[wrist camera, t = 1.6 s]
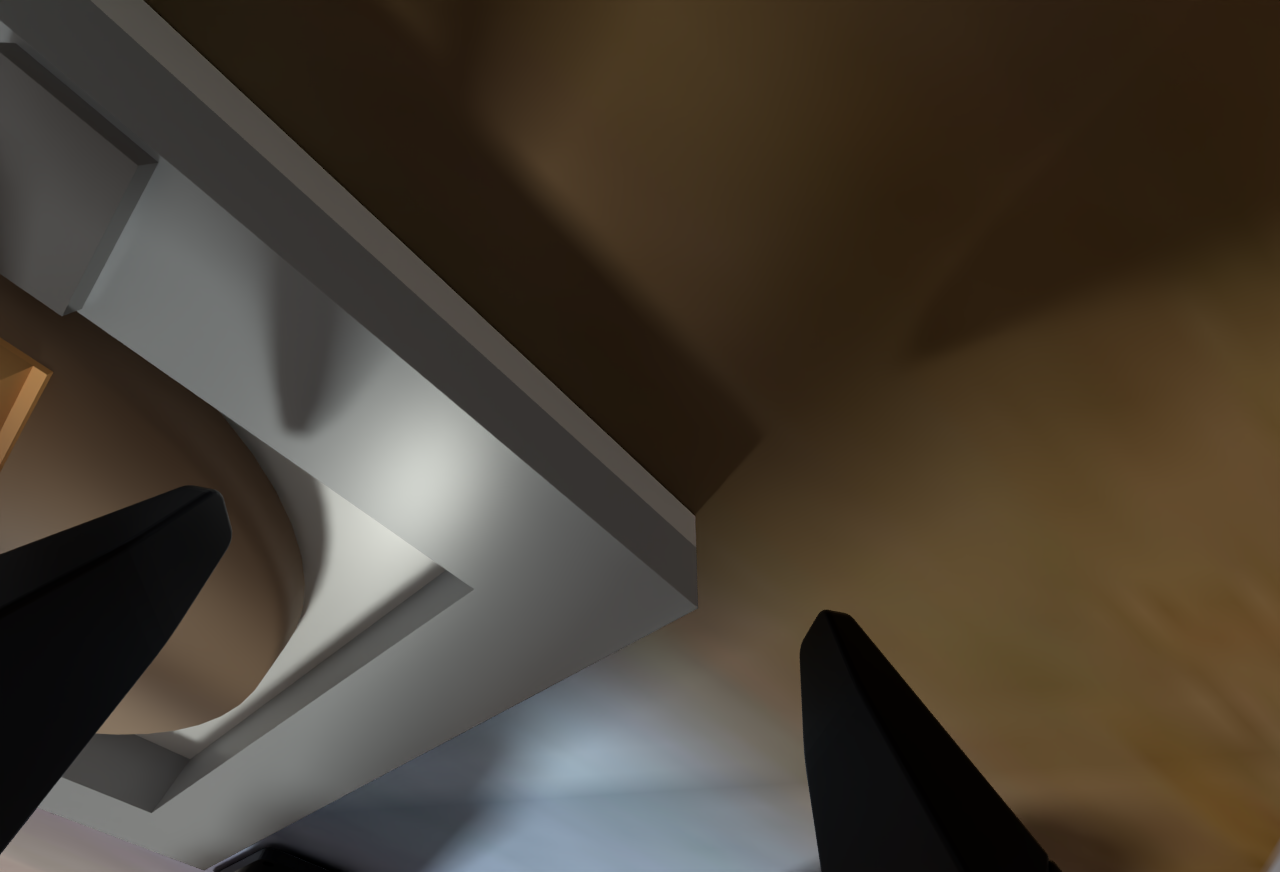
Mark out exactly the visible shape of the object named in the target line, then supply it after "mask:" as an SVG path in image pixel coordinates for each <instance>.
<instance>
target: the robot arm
mask: <svg viewBox="0 0 1280 872" xmlns="http://www.w3.org/2000/svg"><path fill="white" fill-rule="evenodd" d="M231 539H232V527H231V524H230V520H229V516H228V512H227V508H226V505H225V501H224V498H223V495H222V494H221V493H220V492H219V491H217V490H215V489H210V488H205V487H200V486H194V485H186V486H182V487H179V488H176V489H173V490H171V491H168V492H165V493H163V494H160V495H157V496H155V497H152V498H149V499H147V500H144V501H141V502H138V503H136V504H133V505H130V506H128V507H125V508H122V509H120V510H117V511H114V512H112V513H109V514H106V515H104V516H101V517H98V518H96V519H93V520H90V521H88V522H85V523H82V524H80V525H77V526H74V527H72V528H69V529H66V530H63V531H61V532H58V533H55V534H53V535H50V536H47V537H45V538H42V539H39V540H37V541H34V542H31V543H29V544H26V545H23V546H21V547H18V548H15V549H13V550H10V551H7V552H5V553H2V554H0V854H1V853H2V852H3V850H4V849H5V848H6V847H7V845H8V844H9V843H10V842H11V840H12V839H13V838H14V837H15V835H16V834H17V833H18V831H19V830H20V829H21V828H22V826H23V825H24V824H25V823H26V821H27V820H28V819H29V817H30V816H31V815H32V814H33V812H34V811H35V810H36V809H37V807H38V806H39V805H40V804H41V802H42V801H43V800H44V798H45V797H46V796H47V795H48V793H49V792H50V791H51V790H52V788H53V787H54V786H55V785H56V783H57V782H58V781H59V779H60V778H61V777H62V776H63V774H64V773H65V772H66V771H67V769H68V768H69V767H70V765H71V764H72V763H73V762H74V760H75V759H76V758H77V757H78V755H79V754H80V753H81V752H82V750H83V749H84V748H85V746H86V745H87V744H88V743H89V741H90V740H91V739H92V738H93V736H94V735H95V734H96V732H97V731H98V730H99V729H100V727H101V726H102V725H103V724H104V722H105V721H106V720H107V719H108V717H109V716H110V715H111V713H112V712H113V711H114V710H115V708H116V707H117V706H118V705H119V703H120V702H121V701H122V700H123V698H124V697H125V696H126V694H127V693H128V692H129V691H130V689H131V688H132V687H133V686H134V684H135V683H136V682H137V680H138V679H139V678H140V677H141V675H142V674H143V673H144V672H145V670H146V669H147V668H148V667H149V665H150V664H151V663H152V661H153V660H154V659H155V658H156V656H157V655H158V654H159V652H160V651H161V650H162V648H163V647H164V646H165V644H166V643H167V642H168V640H169V639H170V637H171V636H172V634H173V633H174V631H175V630H176V629H177V627H178V626H179V624H180V622H181V621H182V619H183V618H184V616H185V615H186V613H187V611H188V610H189V608H190V607H191V605H192V604H193V602H194V601H195V599H196V597H197V596H198V594H199V593H200V591H201V590H202V588H203V586H204V585H205V583H206V582H207V580H208V579H209V577H210V576H211V574H212V572H213V571H214V569H215V568H216V566H217V565H218V563H219V561H220V560H221V558H222V557H223V555H224V554H225V552H226V551H227V549H228V547H229V545H230V542H231ZM800 675H801V697H802V720H803V741H804V756H805V764H806V772H807V779H808V786H809V792H810V799H811V806H812V812H813V819H814V826H815V832H816V839H817V846H818V852H819V859H820V866H821V872H1062V871H1061V870H1060V868H1059V867H1058V866H1057V865H1056V864H1055V863H1054V862H1053V861H1049V858H1048V855H1047V853H1046V852H1045V851H1044V849H1043V848H1042V847H1041V846H1040V844H1039V843H1038V842H1037V841H1036V840H1035V838H1034V837H1033V836H1032V835H1031V834H1030V832H1029V831H1028V830H1027V829H1026V827H1025V826H1024V825H1023V824H1022V823H1021V821H1020V820H1019V819H1018V818H1017V817H1016V815H1015V814H1014V813H1013V812H1012V810H1011V809H1010V808H1009V807H1008V806H1007V804H1006V803H1005V802H1004V801H1003V800H1002V798H1001V797H1000V796H999V795H998V793H997V792H996V791H995V790H994V789H993V787H992V786H991V785H990V784H989V783H988V781H987V780H986V779H985V778H984V776H983V775H982V774H981V773H980V772H979V770H978V769H977V768H976V767H975V766H974V764H973V763H972V762H971V761H970V759H969V758H968V757H967V756H966V755H965V753H964V752H963V751H962V750H961V748H960V747H959V746H958V745H957V744H956V742H955V741H954V740H953V739H952V738H951V736H950V735H949V734H948V733H947V731H946V730H945V729H944V728H943V727H942V725H941V724H940V723H939V722H938V721H937V719H936V718H935V717H934V716H933V714H932V713H931V712H930V711H929V710H928V708H927V707H926V706H925V705H924V704H923V702H922V701H921V700H920V699H919V697H918V696H917V695H916V694H915V693H914V691H913V690H912V689H911V688H910V687H909V685H908V684H907V683H906V682H905V680H904V679H903V678H902V677H901V676H900V674H899V673H898V672H897V671H896V670H895V668H894V667H893V666H892V665H891V663H890V662H889V661H888V660H887V659H886V657H885V656H884V655H883V654H882V653H881V651H880V650H879V649H878V648H877V646H876V645H875V644H874V643H873V642H872V640H871V639H870V638H869V637H868V636H867V634H866V633H865V632H864V631H863V629H862V628H861V627H860V626H859V625H858V623H857V622H856V621H855V620H854V619H853V618H852V617H851V616H850V615H848V614H846V613H842V612H836V611H831V610H823V611H821V612H820V613H819V614H818V616H817V617H816V619H815V621H814V622H813V624H812V626H811V627H810V629H809V631H808V633H807V634H806V636H805V638H804V639H803V642H802V644H801V648H800ZM220 872H331V871H328V870H326V869H324V868H321V867H319V866H316V865H314V864H311V863H309V862H307V861H304V860H302V859H299V858H297V857H294V856H292V855H290V854H287V853H285V852H282V851H280V850H277V849H273V848H265V849H262V850H260V851H258V852H256V853H254V854H253V855H251V856H249V857H247V858H245V859H243V860H241V861H239V862H237V863H235V864H233V865H231V866H229V867H227V868H225V869H223V870H221V871H220Z"/></svg>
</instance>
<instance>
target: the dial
mask: <svg viewBox="0 0 1280 872" xmlns="http://www.w3.org/2000/svg"><path fill="white" fill-rule="evenodd" d="M186 485H194V486H200V487H205V488H210V489H215V490H217V491H219V492H220V493H221V494H222V495H223V498H224V501H225V505H226V508H227V512H228V516H229V520H230V524H231V527H232V539H231V542H230V545H229V547H228V549H227V551H226V552H225V554H224V555H223V557H222V558H221V560H220V561H219V563H218V565H217V566H216V568H215V569H214V571H213V572H212V574H211V576H210V577H209V579H208V580H207V582H206V583H205V585H204V586H203V588H202V590H201V591H200V593H199V594H198V596H197V597H196V599H195V601H194V602H193V604H192V605H191V607H190V608H189V610H188V611H187V613H186V615H185V616H184V618H183V619H182V621H181V622H180V624H179V626H178V627H177V629H176V630H175V631H174V633H173V634H172V636H171V637H170V639H169V640H168V642H167V643H166V644H165V646H164V647H163V648H162V650H161V651H160V652H159V654H158V655H157V656H156V658H155V659H154V660H153V661H152V663H151V664H150V665H149V667H148V668H147V669H146V670H145V672H144V673H143V674H142V675H141V677H140V678H139V679H138V680H137V682H136V683H135V684H134V686H133V687H132V688H131V689H130V691H129V692H128V693H127V694H126V696H125V697H124V698H123V700H122V701H121V702H120V703H119V705H118V706H117V707H116V708H115V710H114V711H113V712H112V713H111V715H110V716H109V717H108V719H107V720H106V721H105V722H104V724H103V725H102V726H101V727H100V729H99V730H98V731H97V732H96V733H98V734H115V735H121V734H151V733H159V732H168V731H175V730H180V729H184V728H188V727H192V726H197V725H200V724H203V723H205V722H208V721H210V720H213V719H216V718H218V717H221V716H222V715H224V714H226V713H227V712H229V711H231V710H232V709H234V708H235V707H237V706H239V705H240V704H241V703H242V702H243V701H244V700H245V699H246V698H247V697H248V696H249V695H250V694H251V693H252V692H254V691H255V689H256V688H257V686H258V685H259V684H260V682H261V681H262V679H263V678H264V676H265V675H266V674H267V672H268V671H269V669H270V668H271V666H272V665H273V664H274V662H275V661H276V659H277V658H278V656H279V655H280V654H281V652H282V651H283V649H284V648H285V646H286V645H287V643H288V642H289V640H290V638H291V637H292V635H293V633H294V632H295V630H296V628H297V625H298V622H299V619H300V616H301V613H302V610H303V602H304V590H305V580H304V572H303V564H302V556H301V553H300V549H299V546H298V543H297V540H296V536H295V533H294V530H293V527H292V524H291V522H290V520H289V518H288V515H287V513H286V511H285V509H284V507H283V505H282V503H281V501H280V498H279V496H278V494H277V492H276V490H275V489H274V487H273V485H272V484H271V482H270V481H269V479H268V478H267V476H266V474H265V473H264V471H263V470H262V468H261V466H260V465H259V463H258V462H257V460H256V458H255V457H254V455H253V454H252V452H251V451H250V450H249V449H248V447H247V446H246V445H245V443H244V442H243V441H242V440H241V438H240V437H239V436H238V435H237V433H236V432H235V431H234V429H233V428H232V427H231V426H230V424H229V423H228V422H227V420H226V419H225V418H224V417H223V415H222V414H221V413H220V412H219V411H218V410H217V409H216V408H214V407H213V406H211V405H210V404H208V403H207V402H206V401H204V400H203V399H201V398H200V397H198V396H197V395H196V394H194V393H193V392H191V391H190V390H188V389H187V388H186V387H184V386H183V385H181V384H180V383H178V382H177V381H176V380H174V379H173V378H171V377H170V376H168V375H167V374H166V373H164V372H163V371H161V370H160V369H158V368H157V367H156V366H154V365H153V364H151V363H150V362H148V361H147V360H146V359H144V358H143V357H141V356H140V355H138V354H137V353H136V352H134V351H133V350H131V349H130V348H128V347H127V346H126V345H124V344H123V343H121V342H120V341H118V340H117V339H116V338H114V337H113V336H111V335H110V334H108V333H107V332H106V331H104V330H103V329H101V328H100V327H98V326H97V325H96V324H94V323H93V322H91V321H90V320H88V319H87V318H86V317H84V316H83V315H81V314H80V313H78V312H77V311H75V312H72V313H70V314H67V315H64V316H61V315H59V314H58V313H56V312H55V311H53V310H52V309H50V308H49V307H47V306H46V305H45V304H43V303H42V302H40V301H39V300H37V299H36V298H34V297H33V296H32V295H30V294H29V293H27V292H26V291H24V290H23V289H21V288H20V287H18V286H17V285H16V284H14V283H13V282H11V281H10V280H8V279H7V278H5V277H4V276H3V275H1V274H0V554H2V553H5V552H7V551H10V550H13V549H15V548H18V547H21V546H23V545H26V544H29V543H31V542H34V541H37V540H39V539H42V538H45V537H47V536H50V535H53V534H55V533H58V532H61V531H63V530H66V529H69V528H72V527H74V526H77V525H80V524H82V523H85V522H88V521H90V520H93V519H96V518H98V517H101V516H104V515H106V514H109V513H112V512H114V511H117V510H120V509H122V508H125V507H128V506H130V505H133V504H136V503H138V502H141V501H144V500H147V499H149V498H152V497H155V496H157V495H160V494H163V493H165V492H168V491H171V490H173V489H176V488H179V487H182V486H186Z"/></svg>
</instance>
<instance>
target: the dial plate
mask: <svg viewBox="0 0 1280 872" xmlns="http://www.w3.org/2000/svg"><path fill="white" fill-rule="evenodd" d="M0 274H1V275H3V276H4V277H5V278H7V279H8V280H10V281H11V282H13V283H14V284H16V285H17V286H18V287H20V288H21V289H23V290H24V291H26V292H27V293H29V294H30V295H32V296H33V297H34V298H36V299H37V300H39V301H40V302H42V303H43V304H45V305H46V306H47V307H49V308H50V309H52V310H53V311H55V312H56V313H58V314H59V315H61V316H64V315H67V314H70V313H72V312H75V311H77V312H78V313H80V314H81V315H83V316H84V317H86V318H87V319H88V320H90V321H91V322H93V323H94V324H96V325H97V326H98V327H100V328H101V329H103V330H104V331H106V332H107V333H108V334H110V335H111V336H113V337H114V338H116V339H117V340H118V341H120V342H121V343H123V344H124V345H126V346H127V347H128V348H130V349H131V350H133V351H134V352H136V353H137V354H138V355H140V356H141V357H143V358H144V359H146V360H147V361H148V362H150V363H151V364H153V365H154V366H156V367H157V368H158V369H160V370H161V371H163V372H164V373H166V374H167V375H168V376H170V377H171V378H173V379H174V380H176V381H177V382H178V383H180V384H181V385H183V386H184V387H186V388H187V389H188V390H190V391H191V392H193V393H194V394H196V395H197V396H198V397H200V398H201V399H203V400H204V401H206V402H207V403H208V404H210V405H211V406H213V407H214V408H216V409H217V410H218V411H219V412H220V413H221V414H222V415H223V417H224V418H225V419H226V420H227V422H228V423H229V424H230V426H231V427H232V428H233V429H234V431H235V432H236V433H237V435H238V436H239V437H240V438H241V440H242V441H243V442H244V443H245V445H246V446H247V447H248V449H249V450H250V451H251V452H252V454H253V455H254V457H255V458H256V460H257V462H258V463H259V465H260V466H261V468H262V470H263V471H264V473H265V474H266V476H267V478H268V479H269V481H270V482H271V484H272V485H273V487H274V489H275V490H276V492H277V494H278V496H279V498H280V501H281V503H282V505H283V507H284V509H285V511H286V513H287V515H288V518H289V520H290V522H291V524H292V527H293V530H294V533H295V536H296V540H297V543H298V546H299V549H300V553H301V556H302V564H303V572H304V580H305V590H304V602H303V610H302V613H301V616H300V619H299V622H298V625H297V628H296V630H295V632H294V633H293V635H292V637H291V638H290V640H289V642H288V643H287V645H286V646H285V648H284V649H283V651H282V652H281V654H280V655H279V656H278V658H277V659H276V661H275V662H274V664H273V665H272V666H271V668H270V669H269V671H268V672H267V674H266V675H265V676H264V678H263V679H262V681H261V682H260V684H259V685H258V686H257V688H256V689H255V691H254V692H252V693H251V694H250V695H249V696H248V697H247V698H246V699H245V700H244V701H243V702H242V703H241V704H240V705H239V706H237V707H235V708H234V709H232V710H231V711H229V712H227V713H226V714H224V715H222V716H221V717H218V718H216V719H213V720H210V721H208V722H205V723H203V724H200V725H197V726H192V727H188V728H184V729H180V730H175V731H168V732H159V733H151V734H121V735H115V734H98V733H96V734H95V735H94V736H93V738H92V739H91V740H90V741H89V743H88V744H87V745H86V746H85V748H84V749H83V750H82V752H81V753H80V754H79V755H78V757H77V758H76V759H75V760H74V762H73V763H72V764H71V765H70V767H69V768H68V769H67V771H66V772H65V773H64V774H63V776H62V777H61V778H60V779H59V781H58V782H57V783H56V785H55V786H54V787H53V788H52V790H51V791H50V792H49V793H48V795H47V796H46V797H45V798H44V800H43V801H42V802H41V804H40V805H39V806H38V807H37V808H39V809H42V810H45V811H47V812H50V813H53V814H55V815H58V816H61V817H63V818H66V819H69V820H71V821H74V822H77V823H79V824H82V825H85V826H87V827H90V828H93V829H95V830H98V831H101V832H103V833H106V834H109V835H111V836H114V837H117V838H119V839H122V840H124V841H127V842H130V843H132V844H135V845H138V846H140V847H143V848H146V849H148V850H151V851H154V852H156V853H159V854H162V855H164V856H167V857H170V858H172V859H175V860H178V861H180V862H183V863H186V864H188V865H191V866H194V867H196V868H199V869H201V870H206V869H207V868H209V867H211V866H213V865H215V864H217V863H219V862H221V861H223V860H224V859H226V858H228V857H230V856H232V855H234V854H236V853H238V852H239V851H241V850H243V849H245V848H247V847H249V846H251V845H253V844H255V843H256V842H258V841H260V840H262V839H264V838H266V837H268V836H270V835H271V834H273V833H275V832H277V831H279V830H281V829H283V828H285V827H287V826H288V825H290V824H292V823H294V822H296V821H298V820H300V819H302V818H304V817H305V816H307V815H309V814H311V813H313V812H315V811H317V810H319V809H320V808H322V807H324V806H326V805H328V804H330V803H332V802H334V801H336V800H337V799H339V798H341V797H343V796H345V795H347V794H349V793H351V792H352V791H354V790H356V789H358V788H360V787H362V786H364V785H366V784H368V783H369V782H371V781H373V780H375V779H377V778H379V777H381V776H383V775H385V774H386V773H388V772H390V771H392V770H394V769H396V768H398V767H400V766H401V765H403V764H405V763H407V762H409V761H411V760H413V759H415V758H417V757H418V756H420V755H422V754H424V753H426V752H428V751H430V750H432V749H433V748H435V747H437V746H439V745H441V744H443V743H445V742H447V741H449V740H450V739H452V738H454V737H456V736H458V735H460V734H462V733H464V732H466V731H467V730H469V729H471V728H473V727H475V726H477V725H479V724H481V723H482V722H484V721H486V720H488V719H490V718H492V717H494V716H496V715H498V714H499V713H501V712H503V711H505V710H507V709H509V708H511V707H513V706H514V705H516V704H518V703H520V702H522V701H524V700H526V699H528V698H530V697H531V696H533V695H535V694H537V693H539V692H541V691H543V690H545V689H547V688H548V687H550V686H552V685H554V684H556V683H558V682H560V681H562V680H563V679H565V678H567V677H569V676H571V675H573V674H575V673H577V672H579V671H580V670H582V669H584V668H586V667H588V666H590V665H592V664H594V663H595V662H597V661H599V660H601V659H603V658H605V657H607V656H609V655H611V654H612V653H614V652H616V651H618V650H620V649H622V648H624V647H626V646H628V645H629V644H631V643H633V642H635V641H637V640H639V639H641V638H643V637H644V636H646V635H648V634H650V633H652V632H654V631H656V630H658V629H660V628H661V627H663V626H665V625H667V624H669V623H671V622H673V621H675V620H676V619H678V618H680V617H682V616H684V615H686V614H688V613H690V612H692V611H693V610H695V609H697V608H698V592H697V558H696V525H695V516H694V515H693V514H692V513H691V512H690V511H689V510H688V509H687V508H686V507H685V506H684V505H683V504H682V503H680V502H679V501H678V500H677V499H676V498H675V497H674V496H673V495H672V494H671V493H670V492H669V491H668V490H667V489H665V488H664V487H663V486H662V485H661V484H660V483H659V482H658V481H657V480H656V479H655V478H654V477H653V476H652V475H650V474H649V473H648V472H647V471H646V470H645V469H644V468H643V467H642V466H641V465H640V464H639V463H638V462H637V461H636V460H634V459H633V458H632V457H631V456H630V455H629V454H628V453H627V452H626V451H625V450H624V449H623V448H622V447H621V446H619V445H618V444H617V443H616V442H615V441H614V440H613V439H612V438H611V437H610V436H609V435H608V434H607V433H606V432H604V431H603V430H602V429H601V428H600V427H599V426H598V425H597V424H596V423H595V422H594V421H593V420H592V419H591V418H590V417H588V416H587V415H586V414H585V413H584V412H583V411H582V410H581V409H580V408H579V407H578V406H577V405H576V404H575V403H573V402H572V401H571V400H570V399H569V398H568V397H567V396H566V395H565V394H564V393H563V392H562V391H561V390H560V389H559V388H557V387H556V386H555V385H554V384H553V383H552V382H551V381H550V380H549V379H548V378H547V377H546V376H545V375H544V374H542V373H541V372H540V371H539V370H538V369H537V368H536V367H535V366H534V365H533V364H532V363H531V362H530V361H529V360H527V359H526V358H525V357H524V356H523V355H522V354H521V353H520V352H519V351H518V350H517V349H516V348H515V347H514V346H513V345H511V344H510V343H509V342H508V341H507V340H506V339H505V338H504V337H503V336H502V335H501V334H500V333H499V332H498V331H496V330H495V329H494V328H493V327H492V326H491V325H490V324H489V323H488V322H487V321H486V320H485V319H484V318H483V317H481V316H480V315H479V314H478V313H477V312H476V311H475V310H474V309H473V308H472V307H471V306H470V305H469V304H468V303H467V302H465V301H464V300H463V299H462V298H461V297H460V296H459V295H458V294H457V293H456V292H455V291H454V290H453V289H452V288H450V287H449V286H448V285H447V284H446V283H445V282H444V281H443V280H442V279H441V278H440V277H439V276H438V275H437V274H436V273H434V272H433V271H432V270H431V269H430V268H429V267H428V266H427V265H426V264H425V263H424V262H423V261H422V260H421V259H419V258H418V257H417V256H416V255H415V254H414V253H413V252H412V251H411V250H410V249H409V248H408V247H407V246H406V245H404V244H403V243H402V242H401V241H400V240H399V239H398V238H397V237H396V236H395V235H394V234H393V233H392V232H391V231H390V230H388V229H387V228H386V227H385V226H384V225H383V224H382V223H381V222H380V221H379V220H378V219H377V218H376V217H375V216H373V215H372V214H371V213H370V212H369V211H368V210H367V209H366V208H365V207H364V206H363V205H362V204H361V203H360V202H358V201H357V200H356V199H355V198H354V197H353V196H352V195H351V194H350V193H349V192H348V191H347V190H346V189H345V188H344V187H342V186H341V185H340V184H339V183H338V182H337V181H336V180H335V179H334V178H333V177H332V176H331V175H330V174H329V173H327V172H326V171H325V170H324V169H323V168H322V167H321V166H320V165H319V164H318V163H317V162H316V161H315V160H314V159H313V158H311V157H310V156H309V155H308V154H307V153H306V152H305V151H304V150H303V149H302V148H301V147H300V146H299V145H298V144H296V143H295V142H294V141H293V140H292V139H291V138H290V137H289V136H288V135H287V134H286V133H285V132H284V131H283V130H281V129H280V128H279V127H278V126H277V125H276V124H275V123H274V122H273V121H272V120H271V119H270V118H269V117H268V116H267V115H265V114H264V113H263V112H262V111H261V110H260V109H259V108H258V107H257V106H256V105H255V104H254V103H253V102H252V101H250V100H249V99H248V98H247V97H246V96H245V95H244V94H243V93H242V92H241V91H240V90H239V89H238V88H237V87H235V86H234V85H233V84H232V83H231V82H230V81H229V80H228V79H227V78H226V77H225V76H224V75H223V74H222V73H221V72H219V71H218V70H217V69H216V68H215V67H214V66H213V65H212V64H211V63H210V62H209V61H208V60H207V59H206V58H204V57H203V56H202V55H201V54H200V53H199V52H198V51H197V50H196V49H195V48H194V47H193V46H192V45H191V44H190V43H188V42H187V41H186V40H185V39H184V38H183V37H182V36H181V35H180V34H179V33H178V32H177V31H176V30H175V29H173V28H172V27H171V26H170V25H169V24H168V23H167V22H166V21H165V20H164V19H163V18H162V17H161V16H160V15H158V14H157V13H156V12H155V11H154V10H153V9H152V8H151V7H150V6H149V5H148V4H147V3H146V2H145V1H144V0H0Z"/></svg>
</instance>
